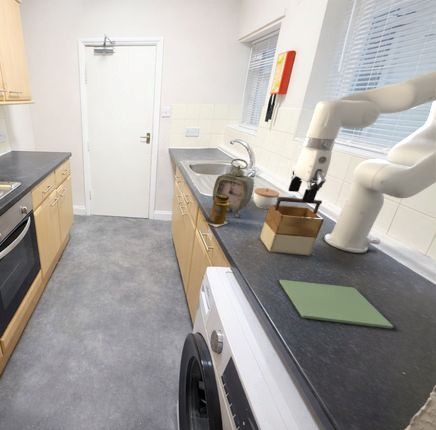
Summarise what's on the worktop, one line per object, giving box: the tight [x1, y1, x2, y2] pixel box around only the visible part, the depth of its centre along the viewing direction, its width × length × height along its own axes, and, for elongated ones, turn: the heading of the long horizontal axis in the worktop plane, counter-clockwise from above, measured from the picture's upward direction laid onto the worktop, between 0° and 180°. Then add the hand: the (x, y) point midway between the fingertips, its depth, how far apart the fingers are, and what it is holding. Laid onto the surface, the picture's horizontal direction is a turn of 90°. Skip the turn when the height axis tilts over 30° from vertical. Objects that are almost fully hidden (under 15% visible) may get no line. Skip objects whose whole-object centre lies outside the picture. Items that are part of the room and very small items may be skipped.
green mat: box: [278, 279, 394, 329], centre depth 70 cm, size 20×14×1 cm
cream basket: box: [259, 221, 317, 256], centre depth 95 cm, size 13×10×7 cm
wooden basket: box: [264, 196, 325, 239], centre depth 91 cm, size 13×10×12 cm
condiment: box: [202, 194, 229, 228], centre depth 111 cm, size 7×8×12 cm
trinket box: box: [252, 187, 280, 210], centre depth 129 cm, size 11×11×9 cm
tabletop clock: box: [212, 158, 255, 218], centre depth 118 cm, size 14×9×25 cm, turn 44°
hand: (299, 196), depth 88 cm, fingers open, 9 cm apart
